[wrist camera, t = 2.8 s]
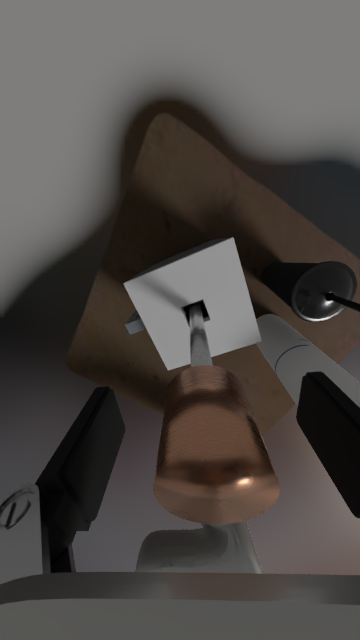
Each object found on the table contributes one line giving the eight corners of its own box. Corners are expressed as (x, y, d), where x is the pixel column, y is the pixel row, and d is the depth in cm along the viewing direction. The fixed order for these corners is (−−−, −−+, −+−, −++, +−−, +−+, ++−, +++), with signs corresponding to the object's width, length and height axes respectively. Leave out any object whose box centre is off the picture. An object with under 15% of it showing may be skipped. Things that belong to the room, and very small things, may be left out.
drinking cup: (276, 245, 34) (384, 249, 15) (305, 271, 35) (435, 303, 17) (246, 279, 36) (307, 318, 18) (274, 302, 38) (357, 360, 19)
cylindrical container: (249, 316, 39) (338, 424, 16) (285, 311, 38) (432, 416, 15) (250, 346, 42) (328, 475, 19) (284, 341, 41) (407, 470, 18)
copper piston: (213, 254, 25) (364, 327, 4) (232, 313, 28) (374, 539, 7) (153, 279, 27) (11, 432, 5) (177, 332, 30) (149, 564, 8)
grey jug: (212, 239, 34) (233, 237, 18) (230, 299, 38) (261, 341, 22) (134, 272, 37) (93, 296, 21) (159, 325, 41) (141, 378, 25)
